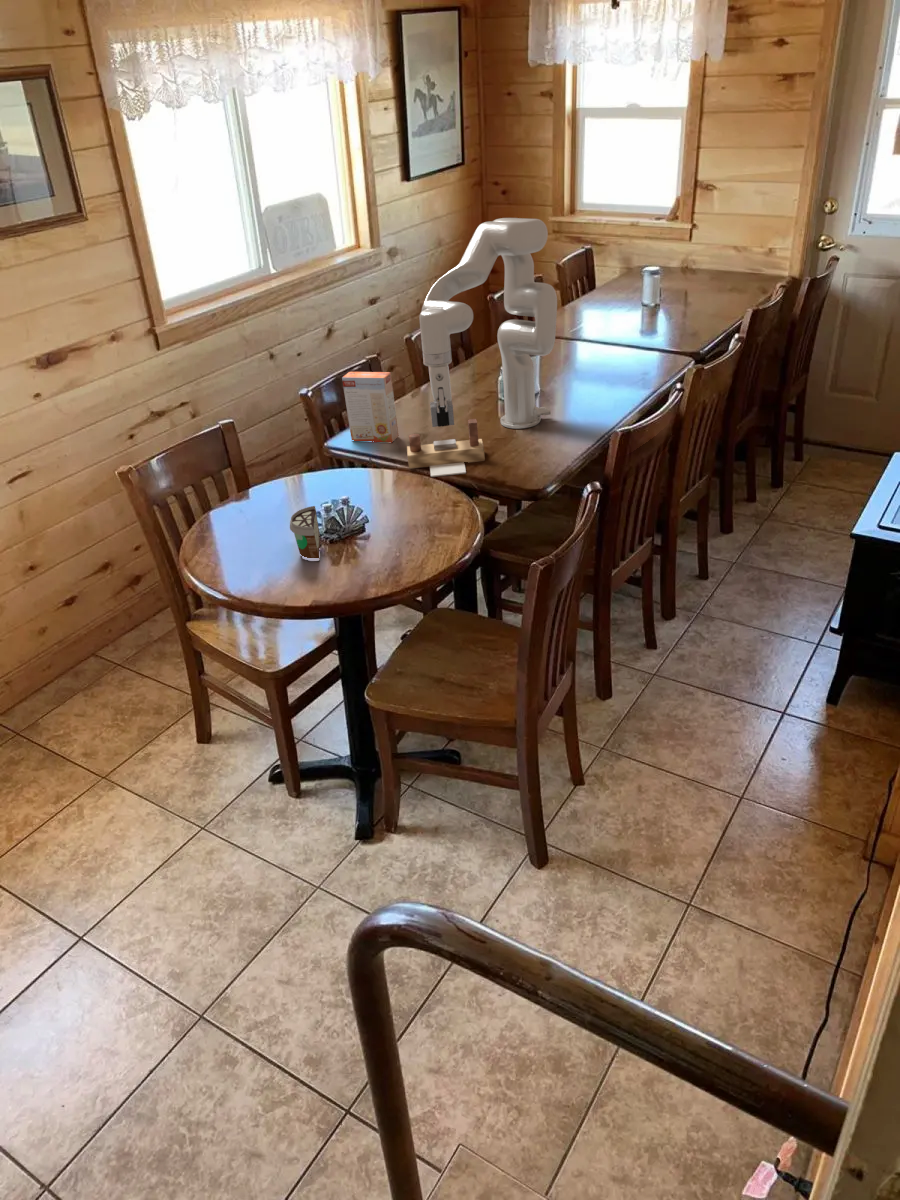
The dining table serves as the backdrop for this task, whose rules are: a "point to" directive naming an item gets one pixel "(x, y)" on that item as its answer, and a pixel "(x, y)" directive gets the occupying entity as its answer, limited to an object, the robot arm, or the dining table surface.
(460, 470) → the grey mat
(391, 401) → the cracker box
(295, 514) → the lidded drink cup
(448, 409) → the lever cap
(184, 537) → the dining table surface
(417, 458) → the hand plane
